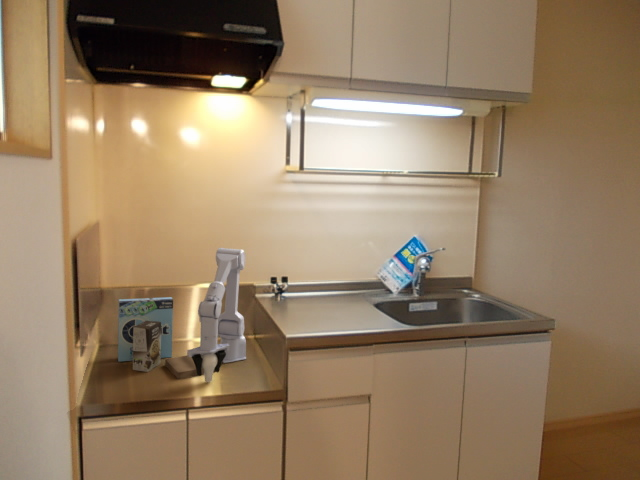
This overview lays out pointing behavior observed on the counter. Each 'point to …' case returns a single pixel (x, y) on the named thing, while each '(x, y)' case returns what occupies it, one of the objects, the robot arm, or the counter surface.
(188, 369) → the walnut base
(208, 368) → the lightbulb
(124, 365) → the counter surface
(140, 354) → the coffee box
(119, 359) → the light blue product box
